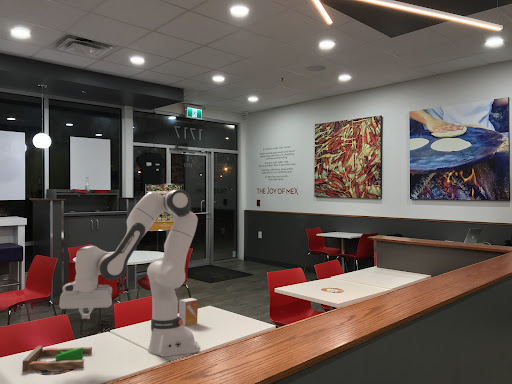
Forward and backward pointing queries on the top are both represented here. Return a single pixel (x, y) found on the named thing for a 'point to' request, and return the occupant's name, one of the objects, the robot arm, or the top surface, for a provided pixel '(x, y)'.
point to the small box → (188, 311)
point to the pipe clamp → (70, 355)
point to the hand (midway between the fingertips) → (85, 318)
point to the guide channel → (33, 365)
